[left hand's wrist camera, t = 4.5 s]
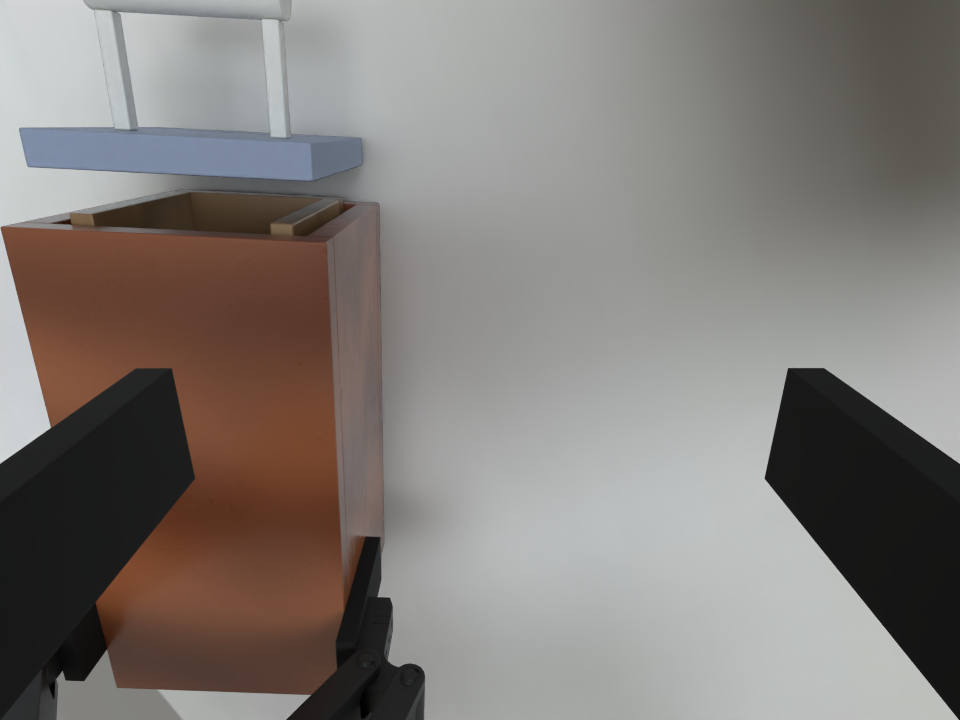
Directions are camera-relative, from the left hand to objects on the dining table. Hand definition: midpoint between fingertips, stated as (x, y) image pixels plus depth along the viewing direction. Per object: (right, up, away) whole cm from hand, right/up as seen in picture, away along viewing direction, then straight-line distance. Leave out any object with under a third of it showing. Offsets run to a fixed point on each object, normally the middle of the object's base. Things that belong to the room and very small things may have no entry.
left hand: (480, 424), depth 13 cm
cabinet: (-11, 0, +20) cm, 23 cm away
